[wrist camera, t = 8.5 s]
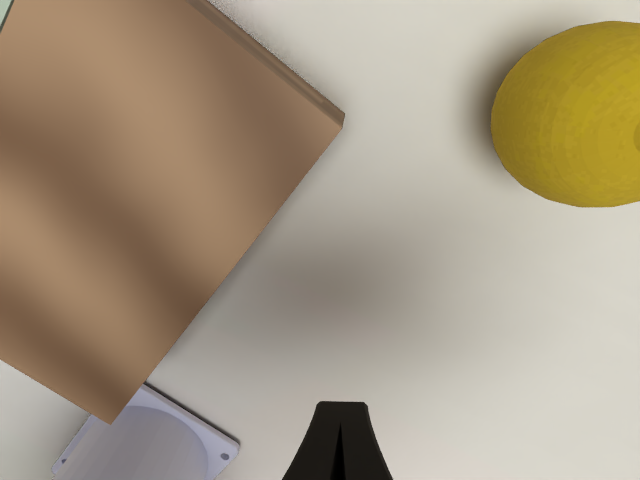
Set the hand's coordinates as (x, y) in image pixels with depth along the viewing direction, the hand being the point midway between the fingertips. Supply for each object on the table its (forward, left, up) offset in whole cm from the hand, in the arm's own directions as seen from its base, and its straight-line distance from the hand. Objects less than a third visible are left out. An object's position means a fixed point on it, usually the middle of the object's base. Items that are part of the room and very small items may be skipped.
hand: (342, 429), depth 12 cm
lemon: (+11, -1, -10) cm, 15 cm away
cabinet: (-2, +10, -9) cm, 14 cm away
